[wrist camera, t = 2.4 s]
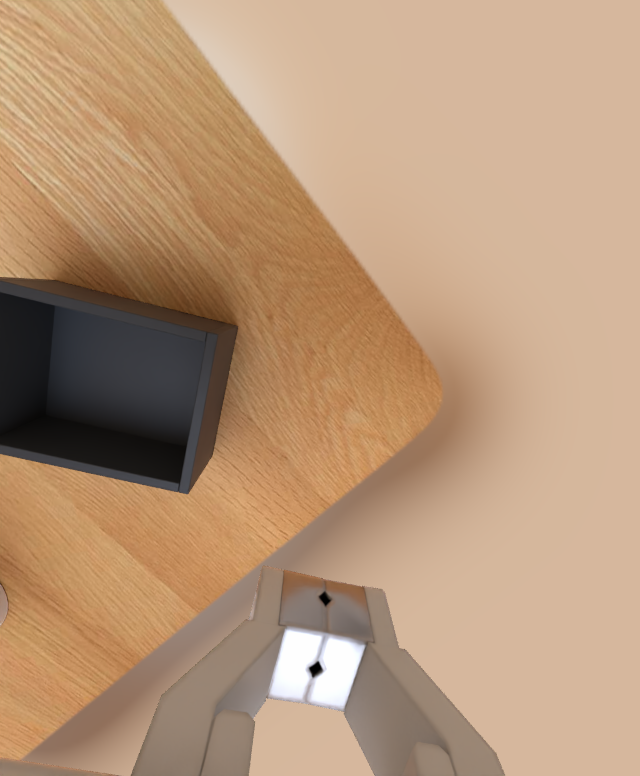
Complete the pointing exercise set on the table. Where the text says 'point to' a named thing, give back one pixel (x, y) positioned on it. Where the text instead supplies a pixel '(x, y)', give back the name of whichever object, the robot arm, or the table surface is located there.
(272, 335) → the table surface
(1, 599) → the cup
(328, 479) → the table surface
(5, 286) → the basket
